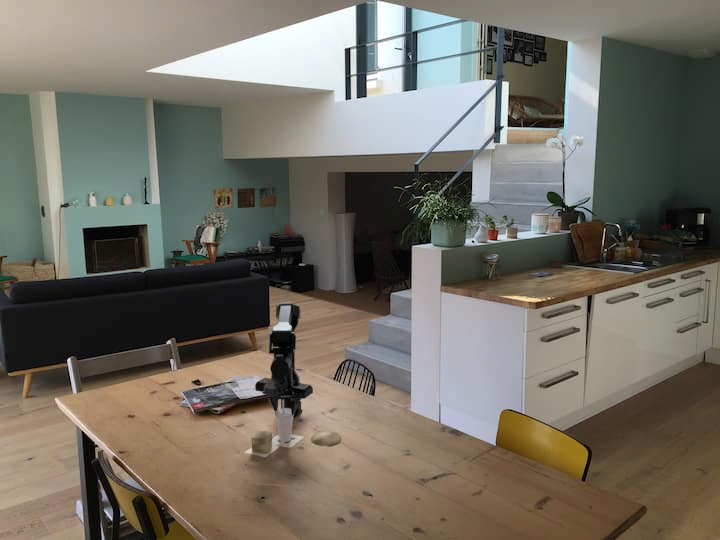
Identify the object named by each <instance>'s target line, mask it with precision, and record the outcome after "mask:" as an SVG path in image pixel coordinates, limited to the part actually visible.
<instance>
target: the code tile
mask: <svg viewBox="0 0 720 540" xmlns="http://www.w3.org/2000/svg"><path fill="white" fill-rule="evenodd" d="M304 438H305V436H302V435H298V434H293V433H292V434H291V440H290V441H288V442H281V441H280V439H279V433H277V435H275V436H274V437H272V445H275V446H279V447H284V448H288V449H291V448H292V447H293V446H294V445H296V444H297V443H298V442H299V441H301V440H302V439H304Z"/></svg>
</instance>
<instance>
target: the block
mask: <svg viewBox="0 0 720 540" xmlns="http://www.w3.org/2000/svg"><path fill="white" fill-rule="evenodd" d="M272 438H273V432H272V431H266V430H265V431H264V430H256V431H255V433H254V434H253V435H252V436H251V447H252V453H266V454H267V453H268V452H269V450H270V449H271V448H272V445H273V444H272Z"/></svg>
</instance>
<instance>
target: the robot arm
mask: <svg viewBox="0 0 720 540" xmlns="http://www.w3.org/2000/svg"><path fill="white" fill-rule="evenodd" d="M275 318H276V320H277V323H276V325H274V326H272V330H271V332H269V347H268V349H269V350H268V354H270V355H272V354H273V358H272V362H271V364H270V367H269V369H270V372H271V376H270V377H271V378H268V377H264V378H261V379H259V380H258V381H256V382H255V385H254V387H255V388H254V389H255V391H256V392H261V393H262V394H263V395H265V396H266V397H267V398H268V399H269V402H270V403H271V406H272V408H273V410H274V412H275V411H276V410H278V409H279V400H280V409H282V408H283V407H282V400H283V399H284V408H290V409H291V412H292V415H294V416H293V418H295V417H297V416H298V415H299V414H301V413H302V412H303V411H304V410H303V409H302V399H306V398H308V397H309V396H311V395H312V394H313V393H314V390H313V389H314V388H313V386H312V384H306V383H302V382H300V381H301V380H300V376H299V374H298V372H297V371H296V351H295V350H296V349H297V348H296V347H297V335H296V334H295V333H296V332H295V331H296V328H297V326H298V325H299V323H300V321H299V320H301V307H300V306H298V305H296V304H294V302H281V303H279V304H278V305H277V306H276V307H275Z"/></svg>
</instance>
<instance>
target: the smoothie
mask: <svg viewBox="0 0 720 540" xmlns="http://www.w3.org/2000/svg"><path fill="white" fill-rule="evenodd" d="M282 407H283V408H282V409H281V408H278V409H277V410H276V411H274V416H275V420H276V426H277V432H278V433H277V434H279V439H280V441H281V442H288V441H290V440H291V434H293V432H292V431H293V425H294V424H293V423H294V417H293V416H294V415H292V412H291V409H290V408H284V399H283V400H282Z"/></svg>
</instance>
